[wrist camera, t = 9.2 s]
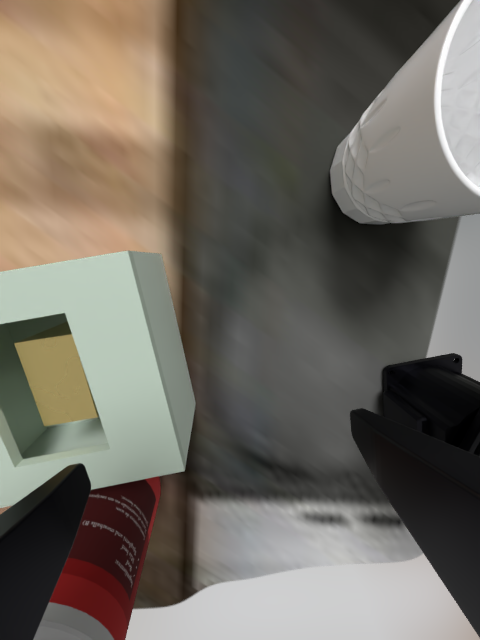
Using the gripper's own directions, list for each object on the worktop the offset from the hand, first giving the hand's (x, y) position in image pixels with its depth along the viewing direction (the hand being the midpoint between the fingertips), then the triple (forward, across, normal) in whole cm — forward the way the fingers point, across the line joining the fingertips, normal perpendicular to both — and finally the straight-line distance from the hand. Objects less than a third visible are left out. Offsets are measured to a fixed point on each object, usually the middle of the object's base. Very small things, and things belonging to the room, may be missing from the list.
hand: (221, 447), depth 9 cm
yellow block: (+11, +9, -1) cm, 14 cm away
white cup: (+12, -13, -10) cm, 20 cm away
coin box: (+12, +9, -1) cm, 15 cm away
